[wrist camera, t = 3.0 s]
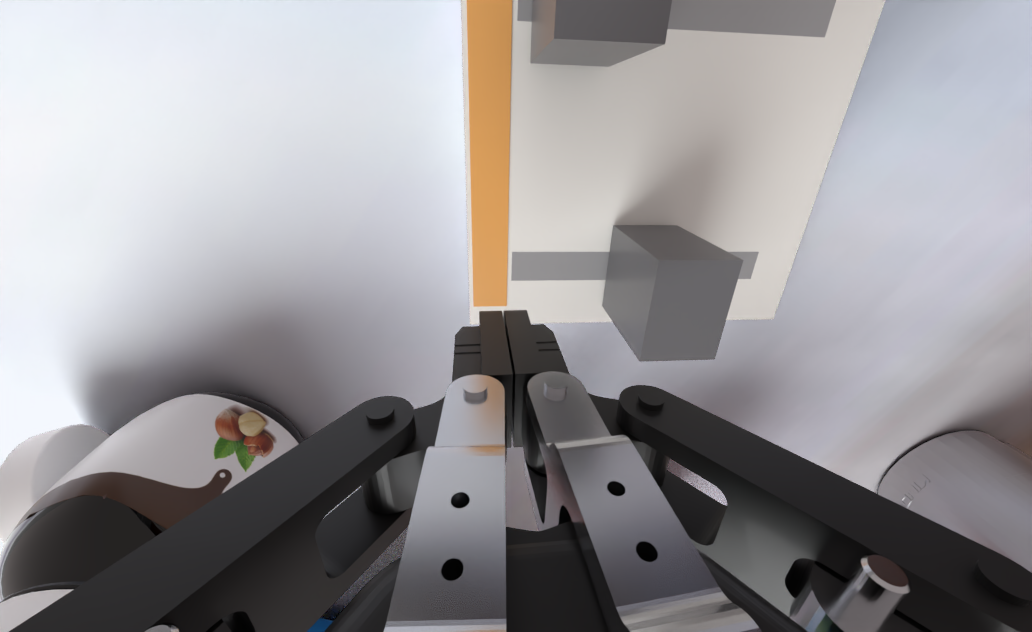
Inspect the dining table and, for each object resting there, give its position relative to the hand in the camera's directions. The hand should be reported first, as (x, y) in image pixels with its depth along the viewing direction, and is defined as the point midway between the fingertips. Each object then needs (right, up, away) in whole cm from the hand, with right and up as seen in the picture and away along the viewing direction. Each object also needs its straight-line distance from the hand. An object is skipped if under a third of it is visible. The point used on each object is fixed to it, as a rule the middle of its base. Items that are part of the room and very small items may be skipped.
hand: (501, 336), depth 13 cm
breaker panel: (+6, +8, +6) cm, 12 cm away
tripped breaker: (+6, +3, +6) cm, 9 cm away
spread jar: (-18, -7, +11) cm, 23 cm away
